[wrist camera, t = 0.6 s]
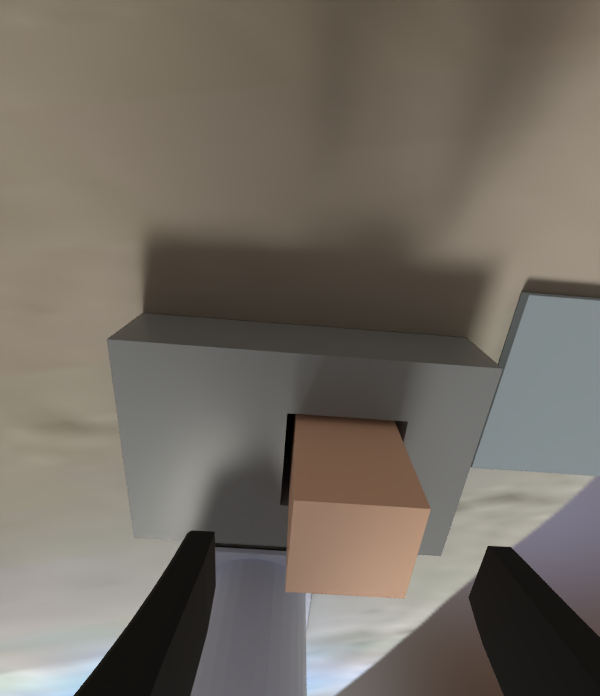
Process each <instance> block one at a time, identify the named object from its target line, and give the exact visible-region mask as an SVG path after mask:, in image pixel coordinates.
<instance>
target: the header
mask: <svg viewBox="0 0 600 696" xmlns="http://www.w3.org/2000/svg"><path fill="white" fill-rule="evenodd" d="M107 343H108V351H109V358H110V365H111V373H112V380H113V387H114V395H115V402H116V409H117V417H118V424H119V431H120V439H121V446H122V453H123V461H124V468H125V475H126V483H127V490H128V497H129V505H130V512H131V519H132V527H133V534H134V538H143V539H160V540H177V541H183V540H184V538H185V536H186V534H187V533H188V532H190V531H191V530H194V531H213V532H215V543H228V544H245V545H262V546H279V547H287V531H288V506H289V481H290V458H284V448H285V436H286V423H287V413H292V414H306V415H320V416H335V417H349V418H364V419H378V420H393V421H395V424H396V426H397V429H398V431H399V433H400V436H401V438H402V441H403V443H404V445H405V448H406V450H407V453H408V455H409V457H410V460H411V462H412V465H413V467H414V469H415V472H416V474H417V477H418V479H419V481H420V484H421V486H422V489H423V491H424V494H425V496H426V498H427V501H428V503H429V506H430V508H431V511H430V514H429V517H428V521H427V524H426V528H425V531H424V534H423V538H422V541H421V545H420V548H419V551H418V555H433V556H441V554H442V551H443V548H444V545H445V542H446V539H447V536H448V533H449V530H450V527H451V524H452V521H453V518H454V515H455V512H456V509H457V506H458V503H459V500H460V497H461V494H462V490H463V487H464V484H465V481H466V478H467V475H468V472H469V469H470V466H471V463H472V460H473V457H474V454H475V451H476V448H477V445H478V442H479V439H480V436H481V433H482V430H483V427H484V424H485V421H486V418H487V415H488V412H489V409H490V406H491V403H492V400H493V397H494V394H495V391H496V388H497V385H498V382H499V379H500V376H501V373H502V369H503V368H501V367H500V366H499V365H498V364H497V363H496V362H494V361H493V360H492V359H491V358H490V357H489V356H487V355H486V354H485V353H484V352H483V351H482V350H480V349H479V348H478V347H477V346H476V345H475V344H473V343H472V342H471V341H470V340H469V339H467V338H463V337H450V336H437V335H424V334H411V333H398V332H385V331H372V330H359V329H346V328H332V327H319V326H306V325H293V324H280V323H267V322H254V321H241V320H228V319H215V318H202V317H189V316H175V315H162V314H149V313H142V314H141V315H139V316H138V317H136V318H135V319H134V320H132V321H131V322H130V323H128V324H127V325H126V326H124V327H123V328H122V329H120V330H119V331H118V332H116V333H115V334H113V335H112V336H111V337H109V338H108V339H107Z"/></svg>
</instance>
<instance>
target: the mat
mask: <svg viewBox="0 0 600 696" xmlns="http://www.w3.org/2000/svg"><path fill="white" fill-rule="evenodd" d="M498 365H499V366H500V367H501V368H503V369H502V373H501V376H500V379H499V382H498V385H497V388H496V391H495V394H494V397H493V400H492V403H491V406H490V409H489V412H488V415H487V418H486V421H485V424H484V427H483V430H482V433H481V436H480V439H479V442H478V445H477V448H476V451H475V454H474V457H473V460H472V463H471V467H472V468H484V469H499V470H514V471H529V472H544V473H560V474H575V475H590V476H600V298H592V297H580V296H567V295H555V294H543V293H530V292H522V293H521V296H520V299H519V302H518V305H517V308H516V311H515V314H514V317H513V321H512V324H511V327H510V330H509V333H508V336H507V339H506V342H505V345H504V348H503V351H502V355H501V358H500V361H499V364H498Z"/></svg>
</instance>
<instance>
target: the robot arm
mask: <svg viewBox="0 0 600 696" xmlns="http://www.w3.org/2000/svg"><path fill="white" fill-rule="evenodd" d="M286 556H287V551H276V550H259V549H242V548H225V547H215V532H213V531H194V530H191V531H190V532H188V533H187V534H186V536H185V538H184V540H183V541H182V543H181V545H180V547H179V548H178V550H177V552H176V553H175V555H174V557H173V558H172V560H171V562H170V563H169V565H168V567H167V568H166V570H165V571H164V573H163V574H162V576H161V577H160V579H159V581H158V582H157V584H156V585H155V587H154V588H153V590H152V591H151V592H150V594H149V595H148V597H147V598H146V600H145V601H144V603H143V604H142V606H141V607H140V608H139V610H138V611H137V613H136V614H135V616H134V617H133V619H132V620H131V621H130V623H129V624H128V626H127V627H126V628H125V630H124V631H123V632H122V634H121V635H120V636H119V638H118V639H117V640H116V642H115V643H114V644H113V646H112V647H111V648H110V650H109V651H108V652H107V654H106V655H105V656H104V658H103V659H102V660H101V662H100V663H99V664H98V666H97V667H96V668H95V669H94V671H93V672H92V673H91V675H90V676H89V677H88V678H87V680H86V681H85V682H84V683H83V685H82V686H81V687H80V688H79V690H78V691H77V692H76V693H75V695H74V696H307V688H306V631H307V624H308V616H309V609H310V602H311V595H312V593H296V592H285V581H286ZM469 600H470V604H471V607H472V611H473V614H474V618H475V621H476V624H477V627H478V630H479V634H480V636H481V640H482V643H483V646H484V648H485V651H486V653H487V656H488V658H489V660H490V663H491V666H492V668H493V670H494V673H495V675H496V678H497V680H498V682H499V684H500V687H501V690H502V692H503V694H504V696H600V637H599V636H598V635H597V634H596V633H595V632H594V631H593V630H592V629H591V628H590V627H589V626H588V625H587V624H586V623H585V622H584V621H583V620H582V619H581V618H580V617H579V616H578V615H577V614H576V613H575V612H574V611H573V610H572V609H571V608H570V607H569V606H568V605H567V604H566V603H565V602H564V601H563V600H562V599H561V598H560V597H559V596H558V595H557V594H556V593H555V592H554V591H553V590H552V589H551V588H550V587H549V586H548V585H547V583H545V581H543V579H542V578H541V577H540V576H539V575H538V574H537V573H536V572H535V571H534V570H533V569H532V568H531V567H530V566H529V565H528V564H527V563H526V562H525V561H524V560H523V559H522V558H521V557H520V556H519V555H518V554H517V553H516V552H515V551H514V550H513V549H512V548H511V547H498V546H488V547H487V550H486V553H485V555H484V558H483V561H482V563H481V566H480V569H479V571H478V574H477V577H476V579H475V582H474V585H473V587H472V590H471V593H470V596H469Z"/></svg>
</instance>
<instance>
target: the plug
mask: <svg viewBox="0 0 600 696" xmlns="http://www.w3.org/2000/svg"><path fill="white" fill-rule="evenodd" d="M430 511H431V508H430V506H429V503H428V501H427V498H426V496H425V494H424V491H423V489H422V486H421V484H420V481H419V479H418V477H417V474H416V472H415V469H414V467H413V465H412V462H411V460H410V457H409V455H408V453H407V450H406V448H405V445H404V443H403V441H402V438H401V436H400V433H399V431H398V429H397V426H396V424H395V421H393V420H378V419H364V418H349V417H335V416H320V415H306V414H294V419H293V431H292V442H291V456H290V481H289V506H288V531H287V556H286V581H285V592H296V593H314V594H332V595H350V596H368V597H386V598H404V599H405V596H406V592H407V589H408V585H409V582H410V579H411V575H412V572H413V568H414V565H415V562H416V558H417V555H418V551H419V548H420V545H421V541H422V538H423V534H424V531H425V528H426V524H427V521H428V517H429V514H430Z"/></svg>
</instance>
